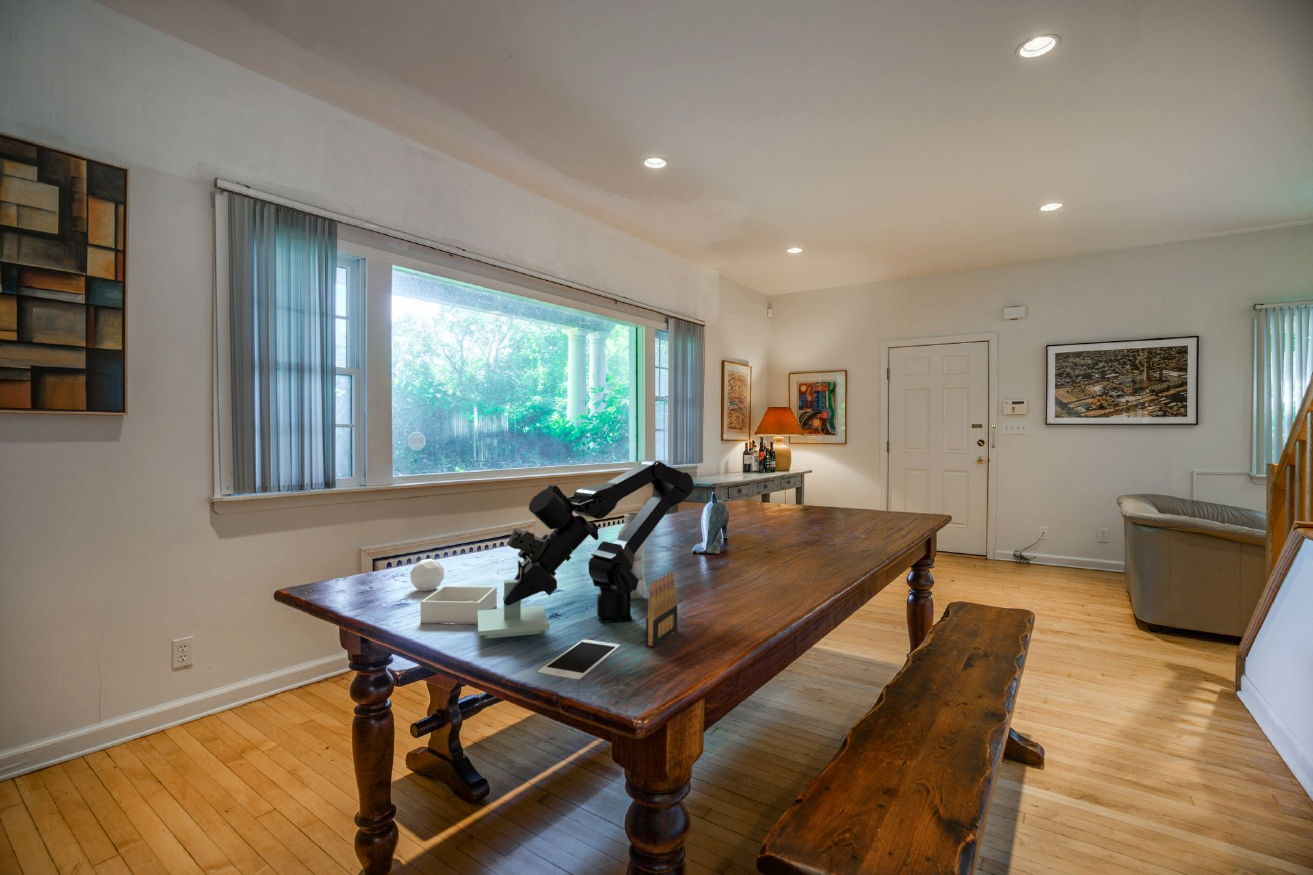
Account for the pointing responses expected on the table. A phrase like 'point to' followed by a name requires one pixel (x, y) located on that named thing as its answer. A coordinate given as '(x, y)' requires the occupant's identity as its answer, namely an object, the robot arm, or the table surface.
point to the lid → (511, 618)
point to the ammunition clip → (661, 610)
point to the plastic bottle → (636, 562)
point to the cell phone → (579, 659)
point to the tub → (457, 604)
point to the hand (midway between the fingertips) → (504, 602)
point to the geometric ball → (427, 575)
